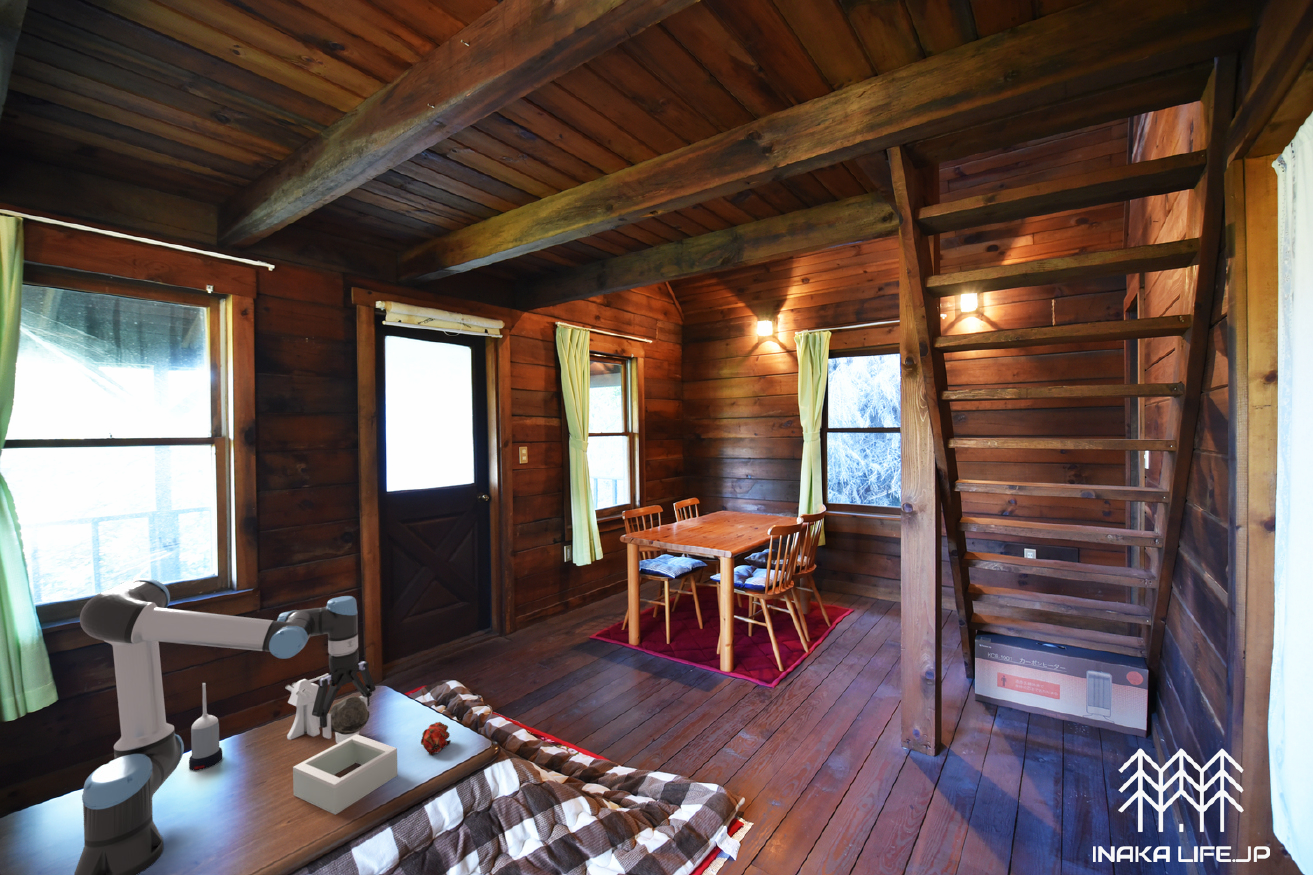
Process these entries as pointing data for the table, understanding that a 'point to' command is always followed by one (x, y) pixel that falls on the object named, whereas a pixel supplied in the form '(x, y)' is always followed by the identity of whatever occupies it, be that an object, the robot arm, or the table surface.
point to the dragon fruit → (435, 738)
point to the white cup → (343, 736)
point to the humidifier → (205, 740)
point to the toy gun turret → (304, 708)
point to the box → (339, 793)
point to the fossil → (349, 716)
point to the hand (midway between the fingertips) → (346, 727)
